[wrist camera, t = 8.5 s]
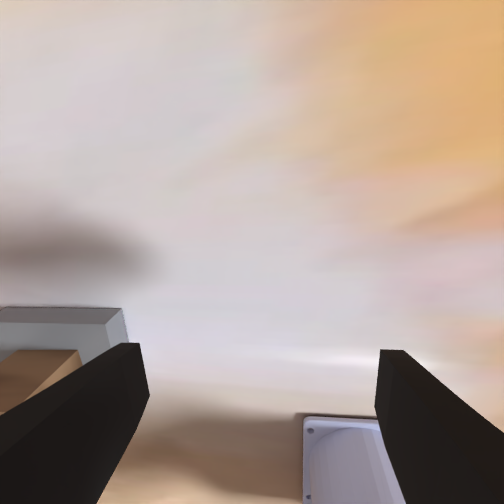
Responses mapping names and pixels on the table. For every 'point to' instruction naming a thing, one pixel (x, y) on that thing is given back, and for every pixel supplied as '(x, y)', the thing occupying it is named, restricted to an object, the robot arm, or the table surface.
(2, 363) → the walnut block
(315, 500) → the robot arm
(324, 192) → the table surface
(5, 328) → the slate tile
